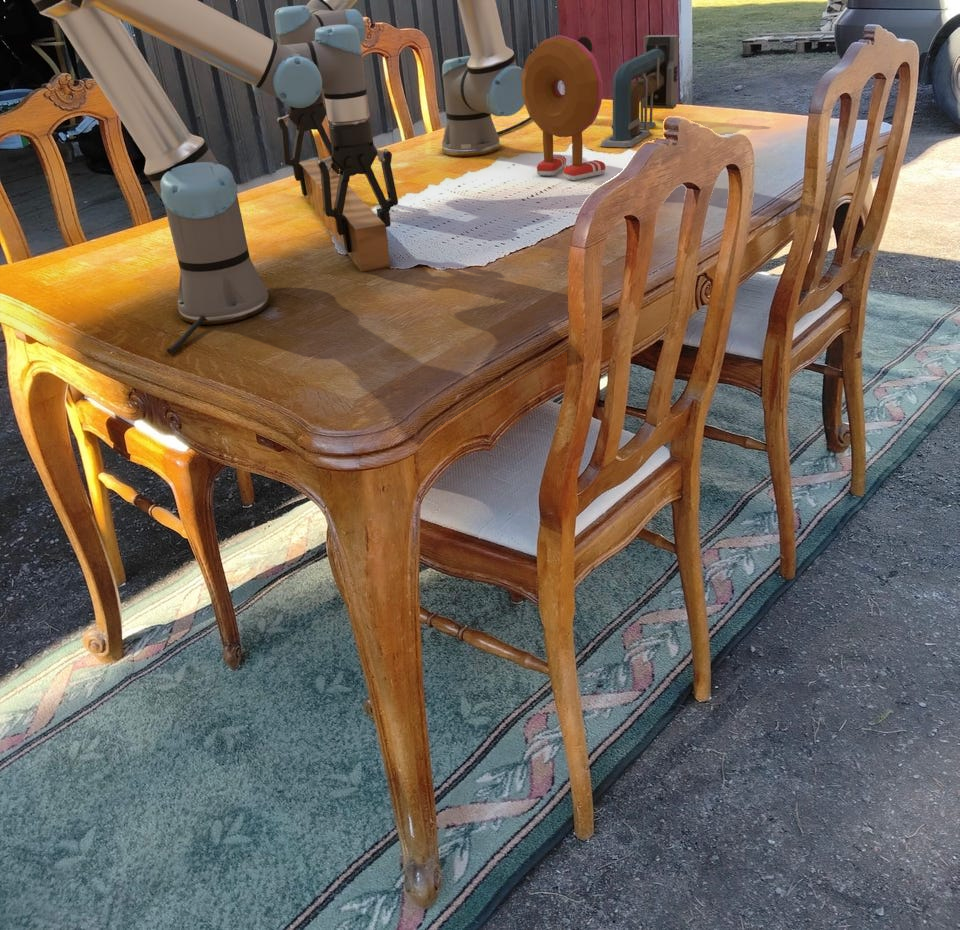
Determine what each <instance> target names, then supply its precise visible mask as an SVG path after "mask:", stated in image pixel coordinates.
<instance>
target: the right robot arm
mask: <svg viewBox="0 0 960 930" xmlns="http://www.w3.org/2000/svg"><path fill="white" fill-rule="evenodd" d="M357 1H358V0H309V2H307V4H305V5H290V6H289V5H288V6H282V7H279V8H277V9H275V11H274V27H275V35H276V39H277V43H279V44H281V45H291V44H301V43H307V42H311V41H315V39H314V38H315V31H316V29H317V28H319V27H325V26H330V25H344V24H346V25H352V26H354V27H356V29H357V30H358V33H359V38H360V44H361V45H363V44H364V42H365V40H366V34H367V30H366V23H365V19H364V17H363V15H362V14H361V12H360V11H359V10H357V9H355V8H352V7H353V6H354V5H355V4H356V3H357ZM456 2H457V6H458V10H459V13H460V17H461V20H462V21H461V22H462V26H463V29H464V32H465V37H466V41H467V45H468V49H469V53H470V55H465V56H461V57H460V56H459V57H453V58H449V59H446V60H444V61H443V63H442V67H441V68H442V69H441V70H442V71H441V78H442V85H443V96H444V105H445V115H446V117H445V118H446V124H445V128H444V134H443V138H442V141H441V142H442V143H441V150H442V153H443V154H444V155H446V156H452V157H476V156H483V155H487V154H491V153H495V152H497V151H498V150H499V149H500V148H501V141H500V137H499V136H500V135H503V134H505V133H507V132H510V131H512V130H515V129H517V128H519V127H521V126H522V125H525V124H526V123H528V122H530V121H532V119H531V117H530V116H529V117H528V118H526V119H524V120H522V121H521V122H518V123H516V124H514V125H512V126H510V127H507V128H505V129H502V130H500V131H497V129H496V126H495V124H494V121H493V119H492V116H495V117H511V116H513V115H516V114H517V113H518V112H520V111H521V110H522V109H523V108H524V106H525V103H524V101H523V98H522V82H521V76H522V73H523V69H524V68H522V67H520V66H518V65H517V61H516V57H515V52H514V50H513V49H511V48H510V47H508V46H507V45H506V41H505V35H504V32H503V28H502V23H501V19H500V15H499V10H498V6H497V1H496V0H456ZM322 91H323V90H321V94H320V96H319V97H318V99H317V100H316V101H315V102H314V103H313V104H311V105H310V106H308V107H304V108H295V107H291V106H289V105H288V112H287V115H284V116H281V117H280V116H278V117H277V118H276V121H277V125H278V126H279V129H280V139H281V149H282V150H281V151H282V161H283V163H284V164H285V165H287V166H291V167H292V170H293V175H294V176H293V177H294V179H295V181H297V182H299V183H300V188H301V189H300V190H301V194H302V195H303V197H305V196H307V189H306V183H305V177H304V171H303V166H302V165H301V164H299V162H301V161H300V160H301V154H302V146H303V142H304V141H303V140H304V135H305V132H308V131H310V130H312V131H317V132H318V134H319V136H320V138H321V140H322V142H323V144H324V146H325V148H326V150H327V153H328V155H330V153H331V150H332V147H331V140H330V137H329V135H328V134H327V132H326V129H325V127H324V125H323V122H324V120H325V119H326V117H327V112H326V105H325V104H324V98H323V92H322ZM290 121H291V122H292V123H293V124H294V125H295V126H296V128H295V137H294V144H293V150H292V158H291V154H290V153H291V151H290V142H289V139H290V138H289V131H288V130H289V129H288V127H289V126H290ZM331 168H332V169H333V170H334V171H335V172H336V173H337V174H338V175H339V172H340V169H339V168H338V167H337V166H336V165H335V164H334V163H332V164H331Z"/></svg>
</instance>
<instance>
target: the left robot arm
mask: <svg viewBox="0 0 960 930" xmlns="http://www.w3.org/2000/svg"><path fill="white" fill-rule="evenodd" d="M31 2H32V3H33V5H34V6H35V8H36V10H37V11H38V12H39V14H40V15H42V16H44V17H47V18H50V19H53V20H55V21H56V22H57V24H58V25H59V27H60V29H61V30H62V31H63V33H64V35H65V36H66V37H67V39H68V40H69V42H70V44H71V45H72V47H73V48H74V50H75V52H76V53H77V54H78V56H79V58H80V60H81V61H82V62H83V64H84V66H85V67H86V69H87V70H88V72H89V73H90V75H91V76H92V78H93V80H94V81H95V82H96V84H97V86H98V87H99V89H100V90H101V91H102V93H103V95H104V96H105V98H106V99H107V101H108V103H109V104H110V106H111V107H112V109H113V110H114V112H115V113H116V115H117V116H118V118H119V120H120V121H121V122H122V124H123V125H124V127H125V129H126V131H127V132H128V133H129V135H130V136H131V137H132V140H133V142H134V143H135V144H136V146H137V147H138V149H139V150H140V152H141V153H142V155H143V156H144V158H145V163H144V164H145V165H144V169H143V173H144V174H145V176H146V177H147V179H148V181H149V182H150V184H151V185H152V186H153V188H154V189H155V191H156V194H157V195H158V196H159V198H160V199H161V201H162V203H163V205H164V209H165V214H166V217H167V221H168V225H169V229H170V234H171V238H172V241H173V247H174V250H175V254H176V258H177V262H178V266H179V283H178V294H177V310H178V314H179V318H180V319H182V320H183V321H184V322H186V323H189V324H192V325H191V326H189V328H187V330H186V331H185V332H184V333H183V334H182V336H180V337H179V339H177V340H176V342H174V343H173V344H172V345H170V346H169V347H168V348H166V352H167V353H168V354H169V355H170V354H172V353H173V352H175V351H176V350H177V349H178V348H180V347H181V346H182V345H183V344H184V343H185V342H186V341H187V340H188V339H189V337H190V336H192V334H193V333H194V332H195V331H196V330H197V329H198V328H199V327H200V326H201V325H202V326H203V325H204V326H205V325H206V326H210V325H222V324H230V323H233V322H239V321H241V320H245V319H248V318H251V317H253V316H256V315H258V314H260V312H263V311H264V310H265V309H266V308H267V307H268V306H269V305H270V296H269V292H268V290H267V287H266V284H265V283H264V282H263V280H262V278H261V276H260V274H259V272H258V270H257V269H256V267H255V265H254V264H253V262H252V260H251V257H250V251H249V246H248V242H247V236H246V232H245V227H244V222H243V217H242V212H241V207H240V202H239V197H238V186H237V183H236V181H235V179H234V175H233V173H232V171H231V170H230V169H229V168H228V167H227V166H225V165H224V164H220V163H219V162H218V161H217V159H216V157H215V155H214V154H213V152H212V150H211V149H210V147H209V146H208V143H207V142H206V141H205V139H204V138H203V137H201V136H198V135H195V134H192V133H191V132H190V131H189V130H188V128H187V126H186V125H185V123H184V122H183V120H182V118H181V117H180V115H179V113H178V111H177V109H176V108H175V107H174V105H173V104H172V101H171V100H170V99H169V97H168V95H167V93H166V92H165V90H164V88H163V86H162V85H161V84H160V82H159V80H158V79H157V77H156V76H155V74H154V73H153V70H152V69H151V67H150V66H149V64H148V63H147V61H146V59H145V58H144V55H143V54H142V52H141V50H140V49H139V48H138V46H137V44H136V43H135V41H134V39H133V38H132V37H131V34H130V33H129V31H128V30H127V28H126V27H125V24H124V23H126V24H128V25H130V26H132V27H134V28H136V29H138V30H140V31H142V32H144V33H146V34H148V35H150V36H152V37H154V38H157V39H158V40H160V41H162V42H165V43H166V44H169V46H171V47H174V48H176V49H178V50H181V51H183V52H184V53H187V54H189V55H190V56H192V57H195V58H196V59H198V60H201V61H202V62H205V63H207V64H209V65H210V66H213V67H215V68H217V69H218V70H221V71H223V72H225V73H227V74H229V75H230V76H233V77H235V78H237V79H239V80H241V81H244V82H245V83H247V84H249V85H251V87H252V91H253V93H254V94H255V95H256V96H257V97H267V96H268V97H269V96H270V97H275V98H276V99H279V100H280V102H281V103H283V104H285V105H286V106H288V107H289V106H291V107H295V108H304V107H308V106H310V105H311V104H313V103H314V102H315V101H316V100H317V99H318V97H319V96H320V94H321V91H323V97H324V103H325V104H324V105H325V108H326V112H327V115H326V118H327V121H328V122H330V123H329V125H328V132H329V140H330V142H331V147H332V150H331V153H330V154H329V156H327V157H326V158H317V159H318V160H317V159H316V160H317V165H318V168H319V170H320V172H321V185H322V199H323V211H324V213H325V214H326V215H327V216H328V217H330V216H331V217H334V218H335V224H336V231H337V232H338V234H339V235H343V240H344V247H345V250H346V251H347V252H348V253H351V252H352V250H351V243H350V236H349V229H348V222H347V218H346V216H345V215H344V214H343V210H344V204H345V198H346V192H347V187H348V186H349V182H350V179H351V177H354V176H356V175H365V177H366V180H367V181H368V183H369V186H370V188H371V190H372V192H373V195H374V196H375V198H376V200H377V202H378V204H379V207H380V208H376V215H377V216H378V217H379V218H380V219H381V220H382V221H383V222H384V223H385V227H386V228H389V227H391V225H392V222H391V216H390V215H391V213H390V211H391V208H392V207H394V206H395V207H396V206H398V204H399V199H398V195H397V189H396V184H395V178H394V174H393V169H392V165H391V164H392V156H393V153H392V151H390V150H388V149H387V148H384V149H377V147H376V146H375V143H374V138H373V137H374V136H373V129H372V122H371V121H370V119H369V118H370V116H371V114H370V112H371V111H370V105H369V98H368V92H367V84H366V75H365V66H364V57H363V56H364V52H363V49H362V44H360V38H359V33H358V30H357V29H356V27H354V26H352V25H346V24H344V25H330V26H325V27H319V28H317V29H316V31H315V38H314V39H315V41H311V42H307V43H301V44H291V45H281V44H279V43H278V41H275V40H274V39H273V38H272V39H271V38H269V37H268V36H266V35H264V34H262V33H260V32H258V31H256V30H255V29H253V28H252V27H249V26H247V25H245V24H244V23H241V22H240V21H238V20H236V19H234V18H232V17H230V16H228V15H226V14H225V13H223V12H221V11H219V10H217V9H215V8H214V7H211V6H209V5H207V4H205V3H204V2H202V1H199V0H31ZM123 22H124V23H123ZM376 157H377V159H378V161H379V162H380V164H381V169H382V174H383V175H382V176H383V178H384V185H385V189H386V192H387V193H386V194H387V199H386V196H385V194H384V192H383V190H382V188H381V186H380V185H379V181H378V180H377V177H376V175H375V173H374V170H373V169H372V166H373V164H374V161H375V159H376ZM321 159H323V160H321ZM332 163H334V164H335V165H336V166H337V167H338V168H339V170H340V172H339V174H338V175H339V182H338V187H337V193H336V199H335V205H334V209H332V200H331V185H330V174H329V171H330V170H331V164H332ZM387 232H388V231H386V235H387V236H388V233H387ZM387 243H388V244H389V241H388V239H387ZM345 250H344V251H345ZM346 251H345V252H346ZM347 252H346V253H347Z"/></svg>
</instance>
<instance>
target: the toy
mask: <svg viewBox="0 0 960 930" xmlns="http://www.w3.org/2000/svg"><path fill="white" fill-rule="evenodd" d="M592 52H593V44H592V41H591V39H589V37H587V36H582V37H580V38H579V39H577V40H576V39H574V38H570V37H568V36H566V35H561V34H558V35H555V36H551V37H549V38H547V39H544V40H543V41H541V42H540V43H539V44H538V45H537V46H536V47H535V48H534V49H533V51H531V53H530V54H529V55H528V56H527V58H526V59H525V62H524V66H523V68H522V69H523V73H522V76H521V82H522V98H523V101H524V103H525V104H524V106H525V109H526V112H527V113H528V116H529V117H531V121H533V122H534V124H536V125H537V127H538V128H539V129H540V130H541V131H542V148H543V149H542V150H543V151H542V152H543V159H542V161H540V162H539V163H538V164H537V165H536V174H537V175H538V176H555V175H556V174H557V173H559V172H560V171H561V170H563V177H564V178H565V179H567V180H570V181H578V180H581V179H586V178H591V177H595V176H600V175H603V174H605V173H606V163H605V162H604V161H601V160H597V159H594V160H589V161H584V162H583V147H584V146H583V132H585V130H587V129H588V128H589V127H590V126H592V125H593V124H594V122H595V121H596V119H597V118H598V114H599V111H600V108H601V106H602V101H603V90H604V89H603V87H604V83H603V78H602V74H601V70H600V67H599V65H598V61H597V59H596V58H595V56H594V54H593V53H592ZM560 80H561V81H562V82H563V83H564V86H565V94H564V95H562V94H561V91H560V90H559V83H560ZM554 137H558V138H570V137H571V143H572V145H571V156H572V157H571V159H572V160H571V161H572V164H570V165H567V158H566V156H565V155H560V154H554Z"/></svg>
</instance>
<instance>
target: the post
mask: <svg viewBox="0 0 960 930" xmlns="http://www.w3.org/2000/svg"><path fill="white" fill-rule="evenodd" d="M318 159H319V158H317V159H311V160H305V161H299V164H301V165H302V166H303V171H304V177H305V183H306V189H307V196H304V198H305V199H306V201H307V202H308V203H309V205H310V206H311V208H312V209H313V210H314V211H315V213H316V214H317V215H318V217H319V218H320V219H321V220H322V222H323V223H324V225H326V226H325V227H327V229H328V230H329V231H330V233H331V234H332V235H333V237H334V238H335V239H336V241H337V242H338V244H339V245H340V246H341V247H342V248H343V249H344V251H345V253H346V254H347V256H349V258H350V259H351V261H352V262H353V263H354V264H355V266H356V267H357V268H358V270H359V271H360V272H361V273H362V272H363V273H364V272H368V271H374V270H380V269H384V268H390V267H391V259H390V252H389V242H388V243H387V240H388V234H387V235H386V232H387V227H385V223H384V222H383V221H382V220H381V219H380V218H379V217H378V216H377V213H375V212H374V211H373V209H371V208H370V206H368V205H367V203H366V202H365V201H364V200H363V199H362V198H361V197H360V196H359V195H358V193H356V192H355V191H354V190H353V189H352V188H351V186H350V185H348V187H347V192H346V198H345V204H344V210H343V214H344V215H345V216H346V218H347V222H348V229H349V236H350V243H351V250H352V252H351V253H348V252H347V251H346V250H345V247H344V240H343V235H339V234H338V232H337V231H336V224H335V218H334V217H331V216H330V217H328V216H327V215H326V214H325V213H324V211H323V199H322V185H321V172H320V170H319V168H318V165H317V160H318ZM320 159H321V160H323V159H324V158H320ZM329 174H330V185H331V200H332V209H334V205H335V199H336V193H337V187H338V182H339V174H337V173H336V172H335V171H334V170H333V169H332V168H331V170H330V171H329Z"/></svg>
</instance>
